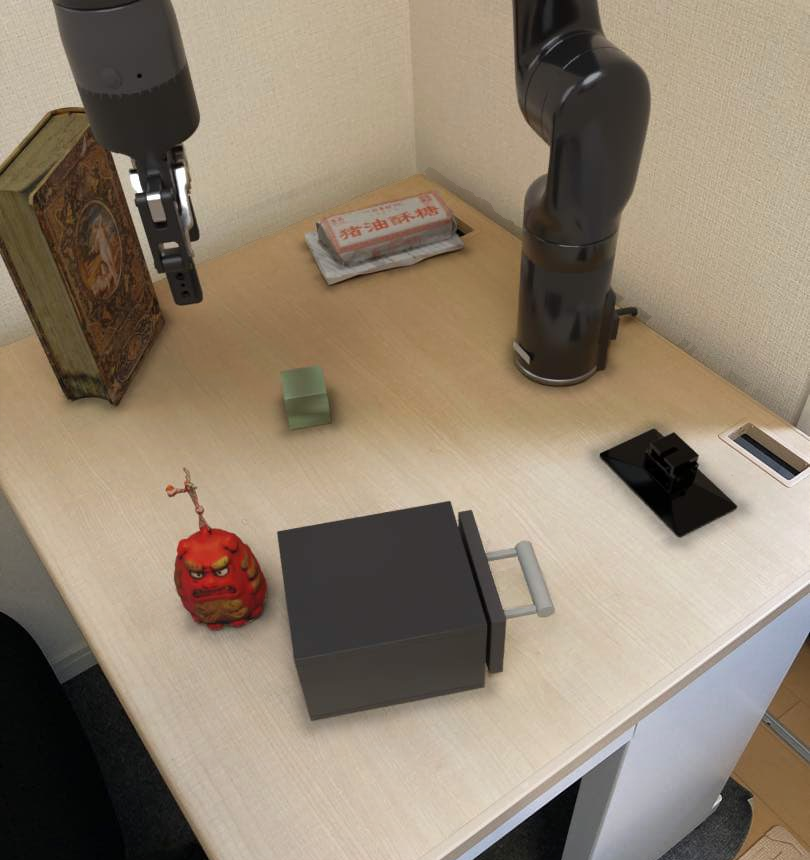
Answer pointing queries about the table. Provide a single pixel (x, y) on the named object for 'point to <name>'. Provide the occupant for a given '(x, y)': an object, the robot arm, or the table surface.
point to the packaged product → (383, 236)
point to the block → (305, 397)
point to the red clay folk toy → (217, 573)
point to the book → (77, 257)
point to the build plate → (668, 481)
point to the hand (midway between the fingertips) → (188, 269)
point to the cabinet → (382, 610)
